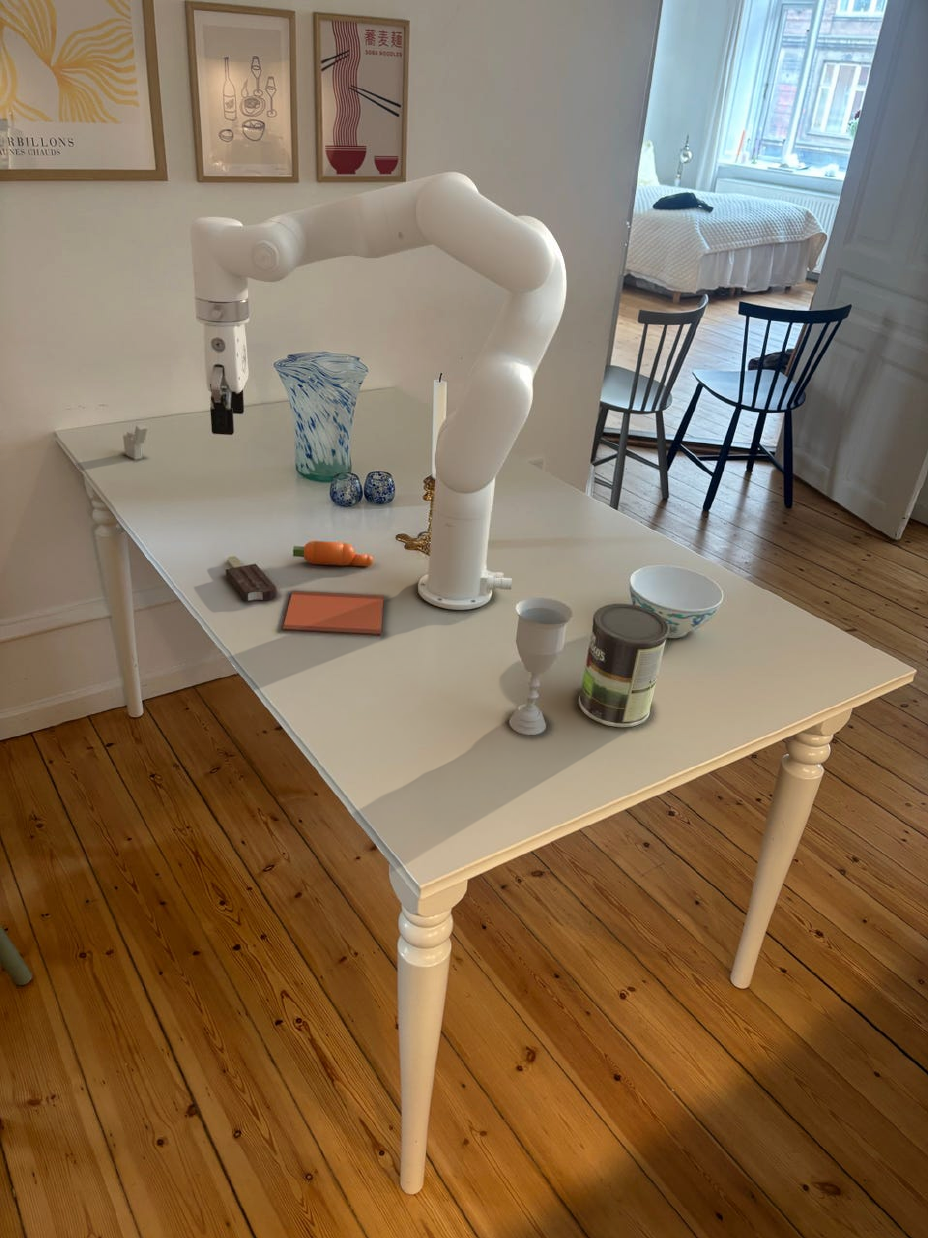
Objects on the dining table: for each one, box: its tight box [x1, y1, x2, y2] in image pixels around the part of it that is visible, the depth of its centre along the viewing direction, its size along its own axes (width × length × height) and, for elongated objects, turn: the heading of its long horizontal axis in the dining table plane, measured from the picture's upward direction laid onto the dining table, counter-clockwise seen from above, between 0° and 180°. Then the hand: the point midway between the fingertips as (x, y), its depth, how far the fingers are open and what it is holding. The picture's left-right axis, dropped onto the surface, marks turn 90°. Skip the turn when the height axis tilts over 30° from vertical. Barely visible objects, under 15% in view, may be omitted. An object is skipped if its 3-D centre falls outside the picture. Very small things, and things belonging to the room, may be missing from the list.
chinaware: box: [629, 564, 724, 639], centre depth 152 cm, size 15×15×8 cm
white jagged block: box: [122, 423, 148, 461], centre depth 195 cm, size 7×2×8 cm, turn 48°
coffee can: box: [578, 603, 669, 728], centre depth 129 cm, size 10×10×14 cm
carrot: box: [292, 540, 374, 567], centre depth 162 cm, size 14×4×4 cm, turn 92°
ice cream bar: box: [225, 555, 277, 602], centre depth 155 cm, size 5×2×15 cm
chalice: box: [508, 597, 574, 736], centre depth 123 cm, size 7×7×18 cm
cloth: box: [282, 590, 384, 636], centre depth 149 cm, size 15×12×1 cm
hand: (228, 422), depth 144 cm, fingers open, 9 cm apart
